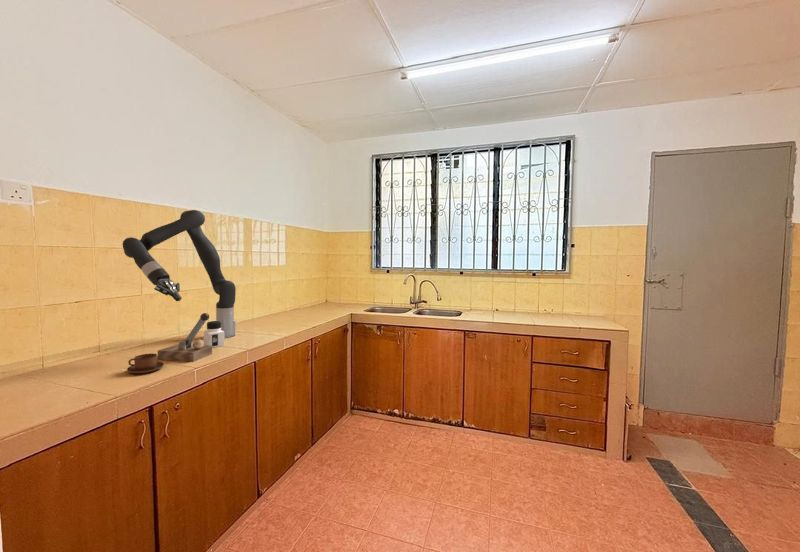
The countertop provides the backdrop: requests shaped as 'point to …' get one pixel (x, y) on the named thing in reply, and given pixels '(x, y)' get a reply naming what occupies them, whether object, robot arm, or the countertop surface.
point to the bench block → (185, 351)
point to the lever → (196, 328)
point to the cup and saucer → (144, 364)
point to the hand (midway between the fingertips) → (179, 299)
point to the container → (214, 334)
